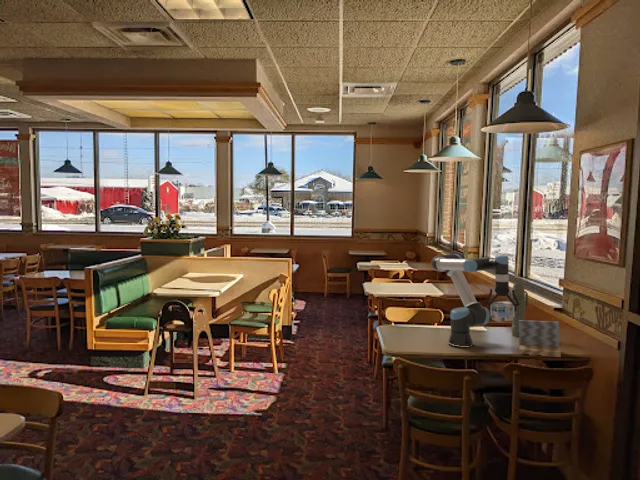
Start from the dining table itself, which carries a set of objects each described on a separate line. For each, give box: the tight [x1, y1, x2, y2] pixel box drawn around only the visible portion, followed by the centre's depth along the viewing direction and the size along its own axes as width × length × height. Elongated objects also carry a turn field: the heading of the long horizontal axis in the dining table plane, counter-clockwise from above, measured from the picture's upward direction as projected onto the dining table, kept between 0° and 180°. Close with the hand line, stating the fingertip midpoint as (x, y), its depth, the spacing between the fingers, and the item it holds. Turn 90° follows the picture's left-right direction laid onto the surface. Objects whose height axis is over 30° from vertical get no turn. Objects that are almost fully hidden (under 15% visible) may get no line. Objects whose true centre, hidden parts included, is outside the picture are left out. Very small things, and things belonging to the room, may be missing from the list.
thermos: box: [508, 283, 529, 338], centre depth 324 cm, size 9×12×35 cm
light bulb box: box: [491, 300, 513, 323], centre depth 291 cm, size 11×7×11 cm, turn 101°
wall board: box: [518, 319, 562, 358], centre depth 285 cm, size 22×12×18 cm, turn 68°
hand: (502, 316), depth 291 cm, fingers closed on light bulb box, 12 cm apart
